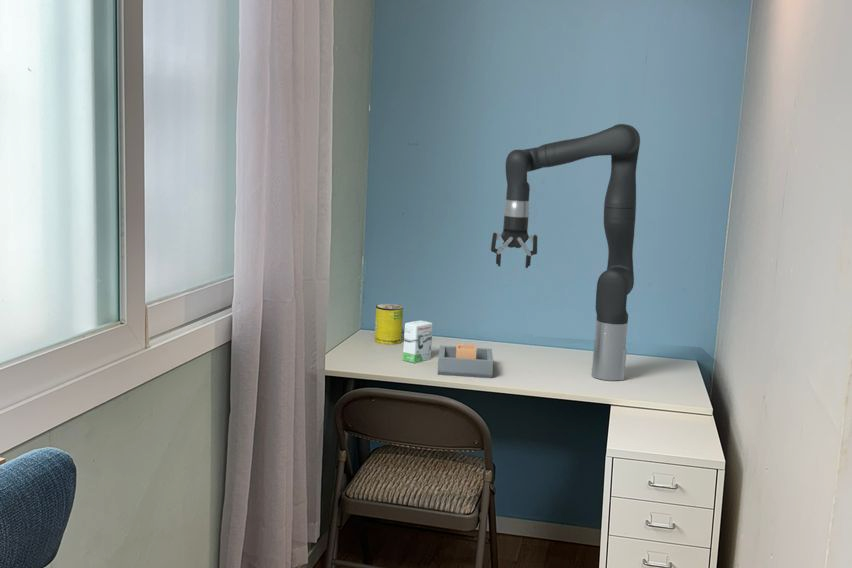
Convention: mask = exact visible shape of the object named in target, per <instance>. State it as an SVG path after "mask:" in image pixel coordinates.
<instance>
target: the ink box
mask: <svg viewBox="0 0 852 568" xmlns="http://www.w3.org/2000/svg"><path fill="white" fill-rule="evenodd" d="M433 326H434V324H433V322H430V321H426V320H422V319H421V320H415V321H409V322H405V324H404V334H403V337H404V338H403V350H402V351H403V353H402V361H405V362H409V363H412V364H416V363H421V362H424V361H428V360H431V359H432V344H433V343H432V341H433Z"/></svg>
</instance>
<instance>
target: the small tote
mask: <svg viewBox="0 0 852 568" xmlns="http://www.w3.org/2000/svg"><path fill="white" fill-rule="evenodd" d="M477 348H478V347H477V345H476V344H475V345H474V344H462V343H456V358H465V359H476V351H477Z"/></svg>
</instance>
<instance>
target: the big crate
mask: <svg viewBox="0 0 852 568" xmlns="http://www.w3.org/2000/svg"><path fill="white" fill-rule="evenodd" d="M456 347H457V345H456V346H452V345H440V346H439V352H438V358H437V359H438V361H437V376H438V375H439V376H449V377H450V376H452V377H465V378H467V377H469V378H484V379H492V378H493V371H494V370H493V369H494V368H493V367H494V358H493V349H492V348H486V347H477V351H476V359H465V358H456Z"/></svg>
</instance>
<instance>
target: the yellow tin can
mask: <svg viewBox="0 0 852 568" xmlns="http://www.w3.org/2000/svg"><path fill="white" fill-rule="evenodd" d="M403 312H404V307H403V305H399V304H396V303H395V304H393V303H380V304H379V303H378V304H376V305H375V323H374V324H375V325H374V342H375V343H377V344H380V345H386V346H387V345H390V346H391V345H393V346H394V345H400V344H401V343H402V336H403V335H402V334H403V333H402V332H403V317H404V316H403V315H404V313H403Z"/></svg>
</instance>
